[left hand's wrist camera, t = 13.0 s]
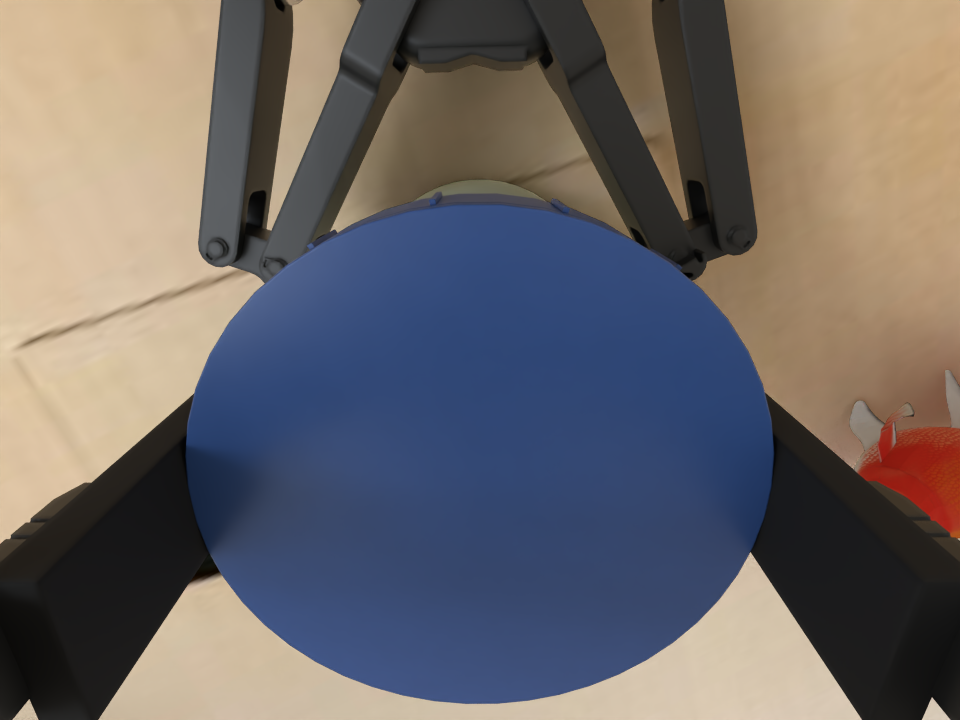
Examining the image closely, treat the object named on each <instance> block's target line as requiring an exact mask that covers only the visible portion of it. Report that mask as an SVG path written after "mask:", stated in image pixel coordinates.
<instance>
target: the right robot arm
mask: <svg viewBox="0 0 960 720" xmlns="http://www.w3.org/2000/svg"><path fill="white" fill-rule="evenodd" d="M301 1H302V0H221V9H220V20H219V30H218V41H217V51H216V62H215V72H214V83H213V93H212V104H211V114H210V125H209V135H208V146H207V157H206V167H205V178H204V188H203V199H202V209H201V220H200V230H199V241H198V245H199V252H200V254H201V255H202V257H203V259H205V260H206V261H207V262H208V263H209V264H211V265H213V266H215V267H225V266H228V265H229V266H232V267H235V268H238V269H241V270H244V271H248V272H250V273H253V274H255V275H256V276H258V277H259V278H260V279H261V280H262V281H263V282H264V283H266V282H267V281H269V280H270V279H271V278H272V277H273V276H274V275H275V274H277V273H278V272H279V271H280V270H281V269H282V268H284V267H285V266H286V265H287V264H289V263H291V262H292V261H294V260H295V259H297V258H298V257H300V256H302V255H303V254H305V253H306V252H308V251H310V250H309V248H308V247H307V245H309V244H310V243H312V242H314V241H315V240H317V239H319V238H320V237H322V236H324V235H326V234H327V233H329V232H330V230H331V228H332V226H333V224H334V222H335V219H336V217H337V215H338V213H339V211H340V209H341V206H342V204H343V202H344V200H345V198H346V196H347V193H348V191H349V189H350V187H351V185H352V183H353V180H354V178H355V176H356V174H357V172H358V170H359V167H360V165H361V163H362V161H363V159H364V157H365V154H366V152H367V150H368V148H369V146H370V144H371V141H372V139H373V137H374V135H375V133H376V131H377V128H378V126H379V124H380V122H381V120H382V118H383V116H384V113H385V111H386V109H387V107H388V105H389V103H390V101H391V99H392V98H393V97H394V95H395V94H396V92H397V91H398V89H399V87H400V85H401V83H402V81H403V78H404V76H405V74H406V72H407V70H408V68H409V66H410V64H411V65H413V66H415V67H417V68H421V69H423V70H424V72H425V73H431V72H451V71H454V70H457V69H460V68H463V67H466V66H469V65H472V64H475V65H479V66H483V67H486V68H490V69H494V70H497V71H510V70H522V69H523V67H524V66H527V65H530V64H532V63H534V62H536V61H537V62H538V64H539V66H540V68H541V70H542V71H543V73H544V75H545V77H546V79H547V81H548V83H549V85H550V86H551V88H552V89H553V91H554V92H555V93H556V94H557V96H558V97H559V99H560V101H561V103H562V104H563V106H564V108H565V110H566V112H567V114H568V116H569V118H570V120H571V122H572V124H573V125H574V127H575V129H576V131H577V133H578V135H579V137H580V139H581V141H582V143H583V145H584V146H585V148H586V150H587V152H588V154H589V156H590V158H591V160H592V162H593V164H594V166H595V167H596V169H597V171H598V173H599V175H600V177H601V179H602V181H603V183H604V185H605V187H606V188H607V190H608V192H609V194H610V196H611V198H612V200H613V202H614V204H615V206H616V208H617V210H618V211H619V213H620V215H621V217H622V219H623V221H624V223H625V225H626V227H627V229H628V231H629V232H630V234H631V236H632V238H633V240H634V241H635V242H637V243H639V244H640V245H642V246H644V247H645V248H647V249H648V250H650V249H651V248H652V249H653V250H655V251H657V252H658V253H660V254H662V255H664V256H665V257H667V258H669V259H670V260H672V261H674V262H675V263H677V264H679V265H680V266H681V267H682V269H681V270H680V272H682V273H683V274H684V275H685V276H686V277H688V278H689V279H690V280H691V281H693V280H695V279H697V278H698V277H699V276H700V275H701V274H702V273H703V271H704V270H705V268H706V263H707V261H710V260H713V259H716V258H718V257H721V256H724V255H726V254H730V255H741V254H743V253H745V252H747V251H748V250H749V249H750V248H751V247H752V246H753V245H754V243H755V241H756V238H757V225H756V218H755V211H754V204H753V198H752V191H751V184H750V177H749V170H748V163H747V156H746V149H745V142H744V136H743V129H742V122H741V115H740V108H739V101H738V94H737V87H736V80H735V74H734V67H733V60H732V53H731V46H730V39H729V32H728V25H727V18H726V12H725V5H724V0H652V22H653V29H654V37H655V42H656V48H657V53H658V58H659V64H660V69H661V74H662V79H663V85H664V90H665V95H666V100H667V106H668V111H669V116H670V122H671V127H672V132H673V137H674V143H675V148H676V153H677V158H678V164H679V169H680V174H681V180H682V185H683V190H684V195H685V201H686V206H687V211H688V216H689V220H686V221H683V220H682V218H681V216H680V214H679V212H678V210H677V207H676V205H675V203H674V201H673V199H672V197H671V195H670V193H669V191H668V189H667V187H666V185H665V183H664V181H663V179H662V176H661V174H660V172H659V170H658V168H657V166H656V164H655V162H654V160H653V158H652V156H651V154H650V152H649V150H648V148H647V145H646V143H645V141H644V139H643V137H642V135H641V133H640V131H639V129H638V127H637V125H636V123H635V121H634V119H633V117H632V114H631V112H630V110H629V108H628V106H627V104H626V102H625V100H624V98H623V96H622V94H621V92H620V90H619V88H618V85H617V83H616V81H615V79H614V77H613V75H612V73H611V71H610V69H609V67H608V64H607V61H606V53H605V50H604V46H603V44H602V42H601V39H600V37H599V35H598V33H597V31H596V29H595V27H594V25H593V23H592V21H591V18H590V16H589V14H588V12H587V10H586V8H585V6H584V4H583V2H582V0H358V2H359V3H360V4H361V7H360V9H359V12H358V14H357V17H356V19H355V21H354V24H353V26H352V28H351V31H350V33H349V36H348V38H347V40H346V43H345V45H344V48H343V50H342V53H341V57H340V68H339V72H338V75H337V77H336V79H335V82H334V84H333V87H332V89H331V91H330V94H329V96H328V98H327V101H326V103H325V105H324V108H323V110H322V113H321V115H320V117H319V120H318V122H317V124H316V127H315V129H314V131H313V134H312V136H311V139H310V141H309V143H308V146H307V148H306V150H305V153H304V155H303V157H302V160H301V162H300V165H299V167H298V169H297V172H296V174H295V176H294V179H293V181H292V183H291V186H290V188H289V191H288V193H287V195H286V198H285V200H284V202H283V205H282V207H281V209H280V212H279V214H278V217H277V219H276V221H275V224H274V226H273V228H272V231H270V230H267V229H266V227H267V220H268V213H269V206H270V199H271V192H272V184H273V177H274V170H275V163H276V156H277V149H278V142H279V134H280V127H281V120H282V113H283V106H284V99H285V91H286V84H287V77H288V70H289V63H290V56H291V48H292V38H293V11H292V5H295V4H298V3H300V2H301Z"/></svg>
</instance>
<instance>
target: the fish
mask: <svg viewBox="0 0 960 720" xmlns="http://www.w3.org/2000/svg"><path fill="white" fill-rule="evenodd" d="M945 376H946V399H947V404H948V408H949V413H950V417H951V428H948V427H920V428H912V429H905V430H900V431H896V428H895V421H897V420H899V419H901V418H904V417H907V416H913V417H914V413H915V412H914V410H913V408H912V406H911V404H909V403H905V404H904V405H903V406H902V407H901V408H900V409H899V410H897V411H896V412H895V413H893V414H892V415H891V416H890V417H889V418H888V419H887V421H886V424H884V423H883V422H882V421H881V420H879V419H878V418H877V417H876V416H875V415H874V414H873V413H872V412H871V410H870V409H869V408H868V406H867V405H866V403H865V402H864V401H857V402H856V403H855V405H854V407H853V410H852V413H851V416H850V420H849V423H850V428H851V430H852V432H853V433H854V434H855V435H856V436H857V437H858V439H859V440H860V441H861V443H862V444H863V448H864V451H865V452H864V453H863V454H862V455H861V457H860V458H859V459H858V460H857V463H856V465H855V468H854V470H855V471H856V472H857V473H858V474H859V475H860V476H862V477H863V478H864V479H865V480H866V481H877V482H879V483H881V484H883V485H885V486H887V487H888V488H890V489H892V490H894V491H896V492H898V493H900V494H902V495H903V496H905V497H907V498H908V499H910V500H911V501H912V502H913V503H914V504H916V505H917V506H918V507H919V508H920V509H922V510H923V511H924V512H925V513H926V514H928V515H929V516H930V519H931V521H936V522H937V523H939V524H940V525H941V526H942V527H943V528H945V529H946V530H947V531H948V532H950V536H951V537H956V538H960V386H959V385H958V383H957V381H956V380H955V378H954V376H953V374H952V373H951V371H949V370H945Z"/></svg>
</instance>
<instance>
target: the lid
mask: <svg viewBox="0 0 960 720" xmlns="http://www.w3.org/2000/svg"><path fill="white" fill-rule="evenodd" d="M307 247H308V248H309V250H310V251H308V252H306V253H305V254H303V255H302V256H300V257H298V258H297V259H295V260H294V261H292V262H291V263H289V264H287V265H286V266H285V267H284V268H282V269H281V270H280V271H279V272H278V273H277V274H275V275H274V276H273V277H272V278H271V279H270V280H269V281H267V282H266V283H265V284H264V285H263V286H262V287H260V288H259V289H258V290H257V291H256V292H255V293H254V294H253V295H252V296H251V297H250V299H249V300H248V301H247V302H246V303H245V304H244V306H243V307H242V308H241V309H240V310H239V311H238V313H237V314H236V315H235V316H234V317H233V319H232V320H231V321H230V322H229V324H228V325H227V327H226V328H225V330H224V332H223V333H222V335H221V337H220V338H219V340H218V342H217V343H216V345H215V346H214V348H213V350H212V351H211V353H210V355H209V357H208V359H207V362H206V364H205V367H204V369H203V372H202V374H201V376H200V379H199V381H198V384H197V386H196V389H195V393H194V398H193V402H192V406H191V410H190V415H189V419H188V425H187V440H186V454H185V459H186V470H187V481H188V489H189V493H190V497H191V501H192V506H193V510H194V514H195V518H196V522H197V525H198V527H199V530H200V532H201V535H202V537H203V539H204V542H205V544H206V547H207V549H208V551H209V553H210V555H211V557H212V558H213V560H214V562H215V563H216V565H217V567H218V569H219V570H220V572H221V574H222V576H223V577H224V579H225V580H226V581H227V583H228V584H229V585H230V587H231V588H232V589H233V590H234V592H235V593H236V594H237V596H238V597H239V598H240V600H241V601H242V602H243V603H244V604H245V605H246V606H247V607H248V608H249V609H250V610H251V611H252V613H253V614H254V615H255V616H256V617H257V618H258V619H259V620H260V621H261V622H262V623H263V624H264V625H265V626H267V627H268V628H269V629H270V630H272V631H273V632H274V633H275V634H277V635H278V636H279V637H280V638H281V639H283V640H284V641H285V642H286V643H288V644H289V645H290V646H292V647H293V648H295V649H297V650H298V651H300V652H301V653H303V654H304V655H306V656H308V657H309V658H311V659H312V660H314V661H315V662H317V663H319V664H321V665H323V666H325V667H327V668H329V669H331V670H333V671H335V672H337V673H339V674H341V675H343V676H345V677H348V678H351V679H353V680H356V681H358V682H361V683H364V684H366V685H369V686H371V687H375V688H378V689H382V690H385V691H389V692H393V693H396V694H400V695H403V696H409V697H414V698H420V699H426V700H431V701H439V702H451V703H463V704H498V703H509V702H519V701H529V700H534V699H539V698H545V697H550V696H555V695H560V694H564V693H567V692H570V691H574V690H577V689H581V688H584V687H588V686H591V685H593V684H596V683H598V682H601V681H603V680H606V679H608V678H611V677H613V676H616V675H618V674H621V673H622V672H624V671H626V670H628V669H630V668H632V667H634V666H636V665H638V664H640V663H642V662H644V661H646V660H647V659H649V658H650V657H652V656H653V655H655V654H657V653H658V652H660V651H661V650H663V649H664V648H666V647H667V646H669V645H670V644H672V643H673V642H674V641H676V640H677V639H678V638H679V637H680V636H682V635H683V634H684V633H685V632H686V631H688V630H689V629H690V628H691V627H692V626H694V625H695V624H696V623H697V622H698V621H699V620H700V619H701V618H702V617H703V616H704V615H705V614H706V613H707V612H708V611H709V610H710V609H711V608H712V607H713V606H714V605H715V603H716V602H717V601H718V600H719V599H720V598H721V596H722V595H723V594H724V592H725V591H726V590H727V588H728V587H729V586H730V584H731V583H732V582H733V580H734V579H735V578H736V576H737V575H738V573H739V571H740V570H741V568H742V566H743V564H744V562H745V561H746V559H747V557H748V555H749V553H750V552H751V550H752V548H753V546H754V543H755V541H756V538H757V536H758V533H759V531H760V528H761V525H762V523H763V520H764V518H765V513H766V509H767V505H768V500H769V496H770V492H771V487H772V476H773V462H774V445H773V433H772V422H771V416H770V412H769V408H768V404H767V400H766V396H765V392H764V388H763V384H762V382H761V379H760V377H759V375H758V372H757V370H756V368H755V365H754V363H753V361H752V359H751V356H750V354H749V352H748V350H747V348H746V347H745V345H744V344H743V342H742V340H741V339H740V337H739V336H738V334H737V333H736V331H735V329H734V328H733V326H732V325H731V323H730V321H729V320H728V319H727V317H726V316H725V315H724V314H723V313H722V312H721V311H720V309H719V308H718V307H717V306H716V305H715V304H714V303H713V302H712V300H711V299H710V298H709V297H708V296H707V295H706V294H705V292H704V291H703V290H702V289H701V288H700V287H698V286H697V285H696V284H695V283H694V282H692V281H691V280H690V279H689V278H688V277H686V276H685V275H684V274H683V273H682V272H680V270H681V269H682V267H681V266H680V265H679V264H677V263H675V262H674V261H672V260H670V259H669V258H667V257H665V256H664V255H662V254H660V253H658V252H657V251H655V250H653V249H652V248H651V249H650V250H648V249H647V248H645V247H644V246H642V245H640V244H639V243H637V242H635V241H634V240H632V239H630V238H629V237H627V236H626V235H624V234H622V233H621V232H619V231H617V230H616V229H614V228H612V227H611V226H609V225H608V224H606V223H604V222H602V221H599V220H597V219H595V218H592V217H590V216H588V215H585V214H583V213H581V212H578V211H576V210H574V209H572V208H569V207H567V206H566V205H564V204H563V203H561V202H560V201H558V200H557V199H553V198H552V200H551V203H550V202H546V201H543V200H539V199H535V198H528V197H521V196H513V195H505V194H498V193H484V194H453V195H446V196H442V192H436V193H435V194H434V195H433V196H432V197H431V198H425V199H420V200H416V201H413V202H409V203H406V204H403V205H399V206H396V207H392V208H389V209H385V210H383V211H381V212H378V213H376V214H374V215H372V216H370V217H367V218H365V219H363V220H361V221H358V222H356V223H354V224H352V225H350V226H348V227H347V228H345V229H343V230H342V231H340V232H339V233H337V232H336V230H333V231H331V232H329V233H327V234H326V235H324V236H322V237H320V238H319V239H317V240H315V241H314V242H312V243H310V244H309V245H307Z"/></svg>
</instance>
